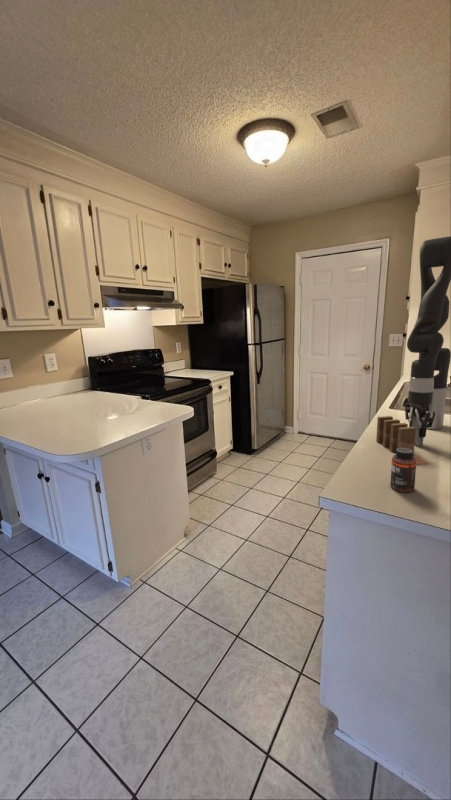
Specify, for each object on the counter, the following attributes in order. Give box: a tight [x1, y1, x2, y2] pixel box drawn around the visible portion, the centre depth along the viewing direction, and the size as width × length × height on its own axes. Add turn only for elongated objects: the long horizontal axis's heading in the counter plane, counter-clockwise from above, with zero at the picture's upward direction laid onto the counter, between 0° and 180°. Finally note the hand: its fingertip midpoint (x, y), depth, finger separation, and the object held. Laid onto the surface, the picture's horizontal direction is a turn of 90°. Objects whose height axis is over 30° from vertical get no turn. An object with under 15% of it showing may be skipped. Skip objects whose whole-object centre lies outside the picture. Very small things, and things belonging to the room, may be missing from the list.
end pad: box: [413, 456, 428, 465], centre depth 107 cm, size 5×6×1 cm
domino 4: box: [397, 426, 416, 457], centre depth 110 cm, size 2×5×10 cm, turn 94°
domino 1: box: [376, 415, 394, 444], centre depth 124 cm, size 2×5×10 cm, turn 94°
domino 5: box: [411, 416, 424, 447], centre depth 119 cm, size 2×5×10 cm, turn 4°
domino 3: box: [388, 422, 409, 453], centre depth 115 cm, size 2×5×10 cm, turn 94°
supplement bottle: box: [389, 448, 417, 493], centre depth 90 cm, size 6×6×11 cm
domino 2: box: [382, 418, 401, 449], centre depth 119 cm, size 2×5×10 cm, turn 94°
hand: (416, 434), depth 120 cm, fingers closed on domino 5, 5 cm apart
